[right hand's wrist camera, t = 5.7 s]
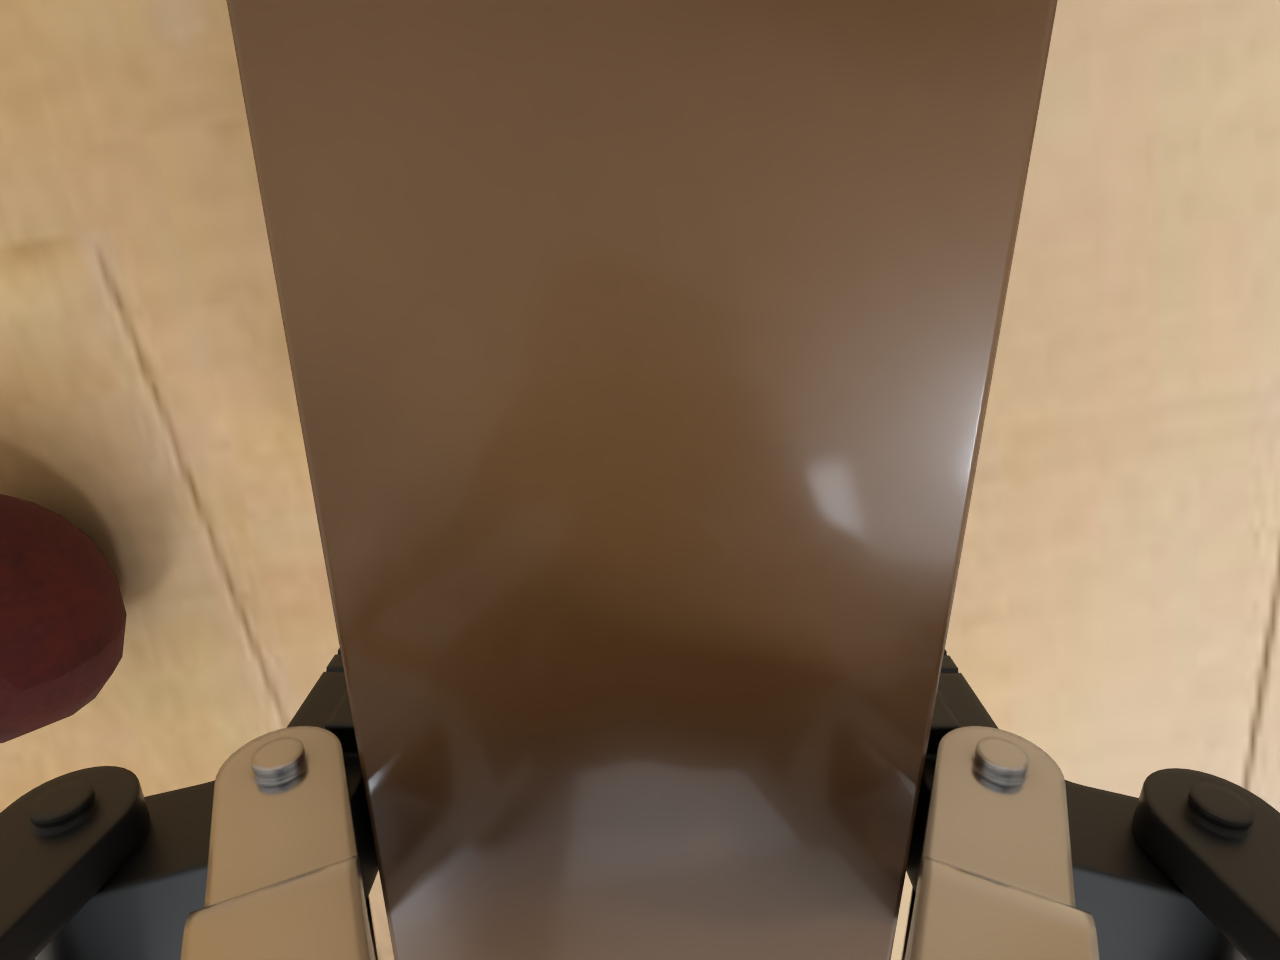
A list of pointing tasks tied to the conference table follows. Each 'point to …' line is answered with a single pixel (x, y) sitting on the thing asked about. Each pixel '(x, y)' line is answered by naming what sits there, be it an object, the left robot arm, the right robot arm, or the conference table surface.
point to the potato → (52, 618)
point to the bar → (642, 439)
